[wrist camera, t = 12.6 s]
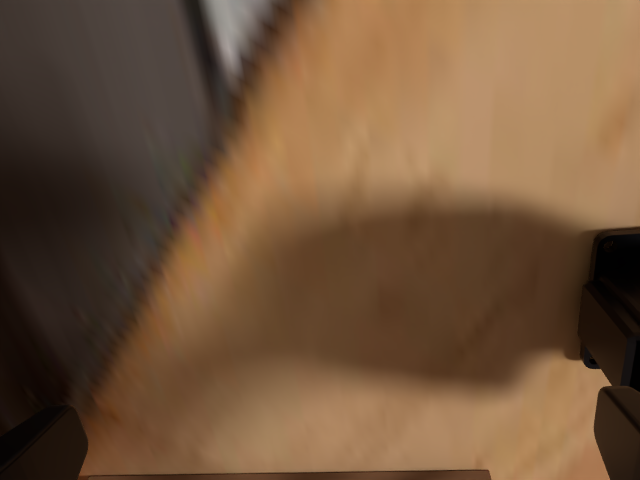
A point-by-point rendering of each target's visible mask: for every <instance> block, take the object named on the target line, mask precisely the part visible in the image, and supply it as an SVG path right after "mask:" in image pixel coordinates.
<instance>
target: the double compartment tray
mask: <svg viewBox="0 0 640 480" xmlns="http://www.w3.org/2000/svg"><path fill="white" fill-rule="evenodd" d="M88 480H491V476H490V473H489V470H478V471H412V472H346V473H280V474H214V475H148V476H90V477H89V478H88Z"/></svg>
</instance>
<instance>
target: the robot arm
mask: <svg viewBox="0 0 640 480" xmlns="http://www.w3.org/2000/svg"><path fill="white" fill-rule="evenodd" d="M609 241H613V243H612V245H611V246H610V247H609V248H604V245H605V244H606V243H607V242H609ZM578 336H579V337H580V339H581V340H582V341H581V350H580V358H581V360H582V362H583V363H584V365H585V366H586V367H588V368H590V369H601V370H602V371H603V373H604V374H605V376H606V377H607V379H608V380H609V382H610V383H611V385H612V386H605V387H603V388H601V389H600V391H599V393H598V399H597V406H596V413H595V420H594V435H595V439H596V442H597V445H598V448H599V450H600V453H601V456H602V459H603V461H604V464H605V467H606V470H607V472H608V475H609V478H610V480H640V229H634V230H619V231H606V232H602V233H601V234H599V235H598V236H597V237H596V238H595V239H594V242H593V248H592V257H591V265H590V274H589V280H588V281H587V282H586V283H585V284H584V285H583V289H582V297H581V306H580V315H579V324H578ZM592 356H593V359H590V357H592ZM87 450H88V438H87V435H86V432H85V430H84V427H83V425H82V422H81V419H80V417H79V414H78V412H77V410H76V408H75V407H74V406H72V405H52V406H48V407H46V408H45V409H43V410H42V411H40V412H38V413H37V414H35V415H34V416H32V417H31V418H29V419H27V420H26V421H24V422H23V423H21V424H20V425H18V426H16V427H15V428H13V429H12V430H10V431H8V432H7V433H5V434H4V435H2V436H1V437H0V480H77V479H78V476H79V473H80V471H81V468H82V465H83V462H84V460H85V457H86V454H87Z"/></svg>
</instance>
